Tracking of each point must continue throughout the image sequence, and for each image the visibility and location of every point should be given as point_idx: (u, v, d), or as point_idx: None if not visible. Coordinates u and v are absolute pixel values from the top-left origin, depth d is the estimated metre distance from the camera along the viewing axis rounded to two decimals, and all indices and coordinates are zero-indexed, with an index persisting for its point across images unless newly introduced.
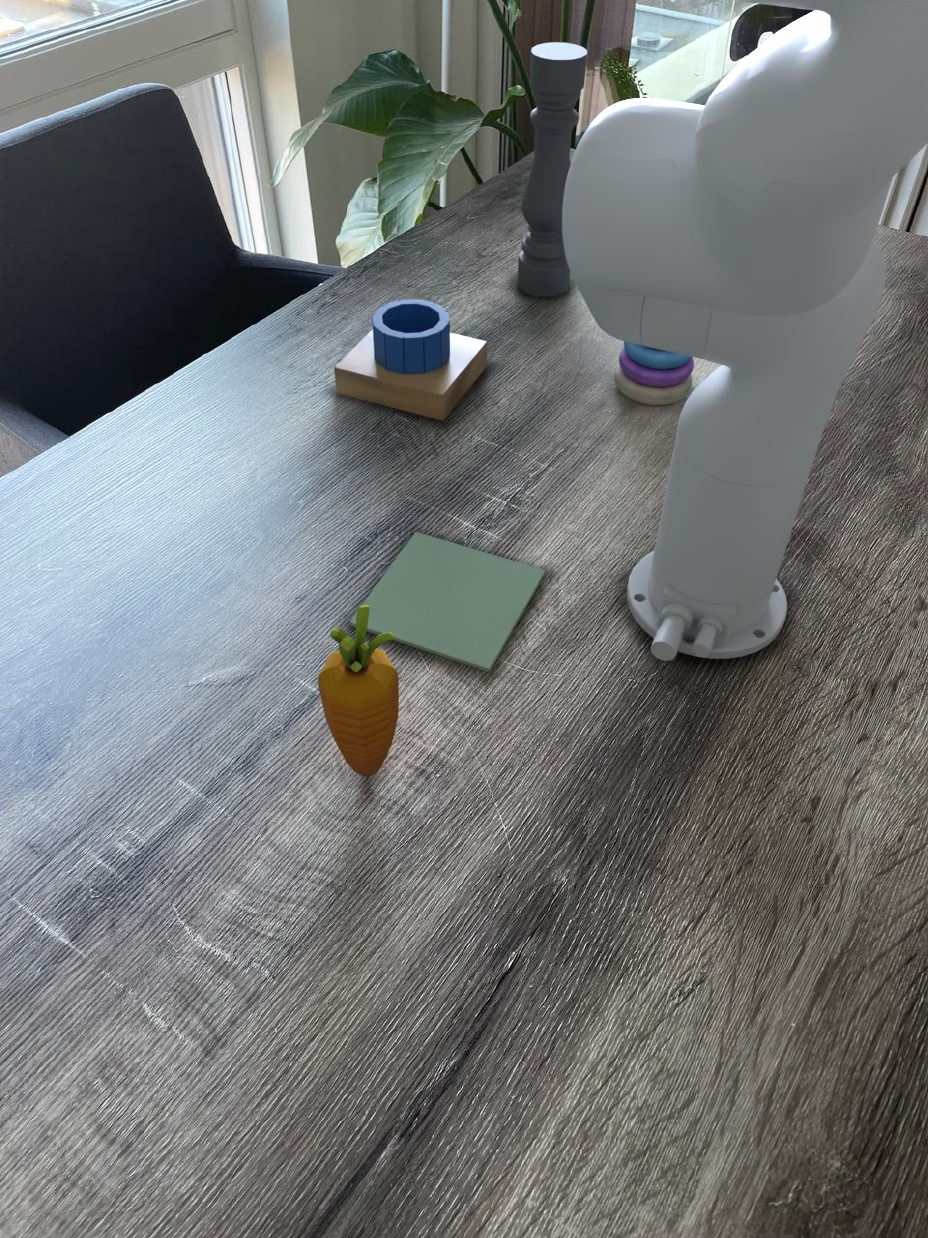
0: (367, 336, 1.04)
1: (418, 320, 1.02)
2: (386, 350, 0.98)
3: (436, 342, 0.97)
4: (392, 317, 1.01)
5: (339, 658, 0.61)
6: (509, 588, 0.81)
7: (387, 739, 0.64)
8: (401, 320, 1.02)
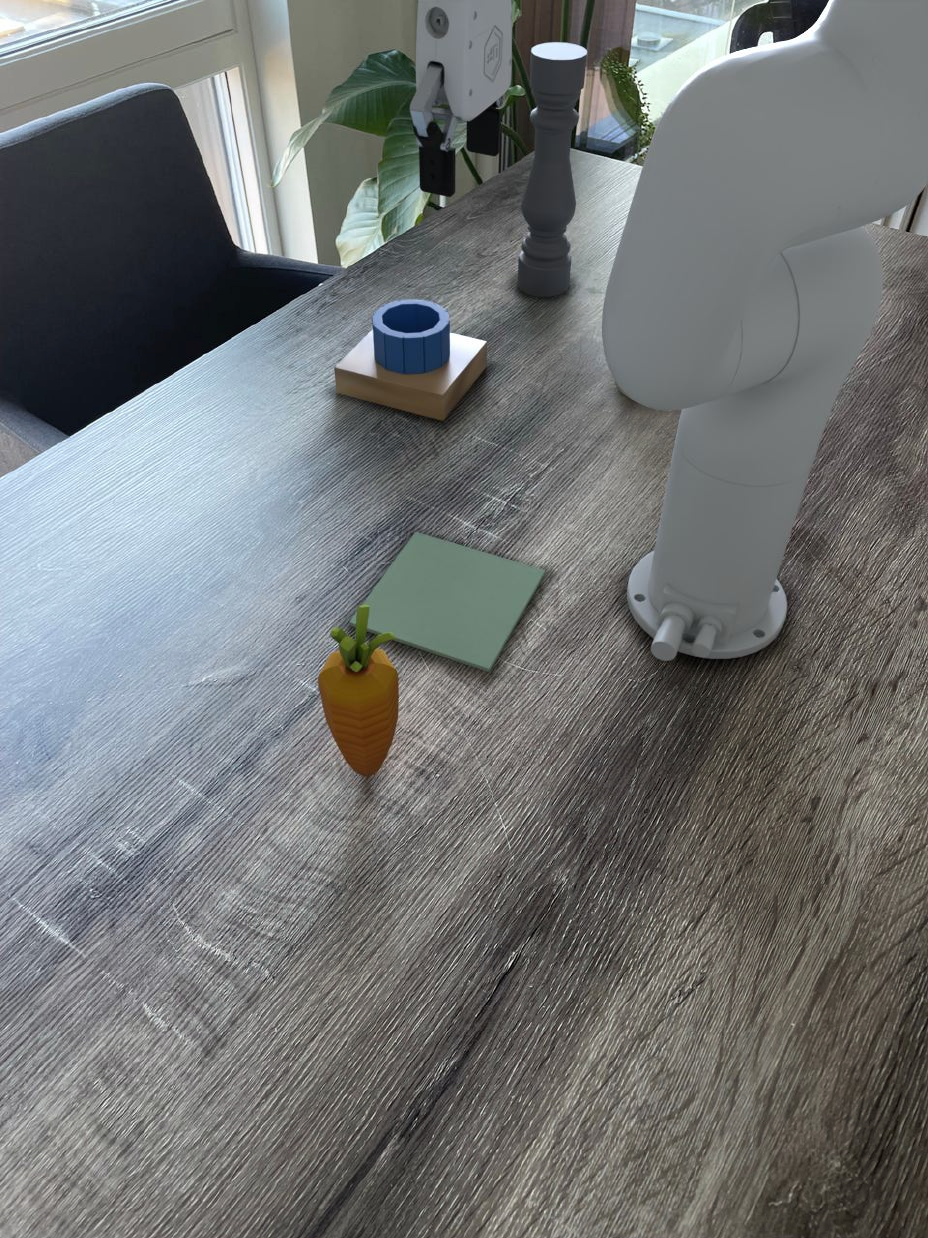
0: (367, 336, 1.04)
1: (418, 320, 1.02)
2: (386, 350, 0.98)
3: (436, 342, 0.97)
4: (392, 317, 1.01)
5: (339, 658, 0.61)
6: (509, 588, 0.81)
7: (387, 739, 0.64)
8: (401, 320, 1.02)
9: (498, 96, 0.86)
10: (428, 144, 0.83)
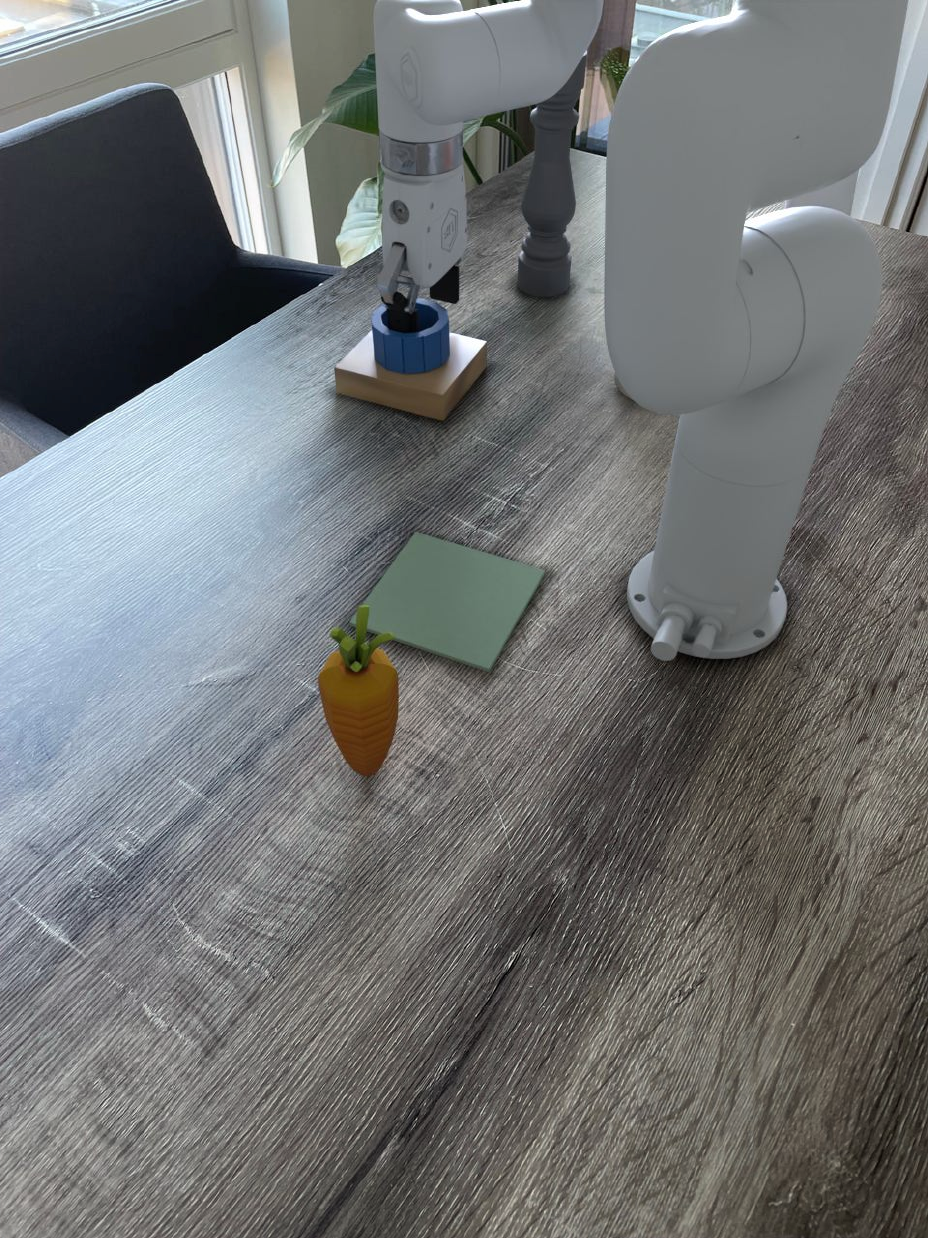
0: (367, 336, 1.04)
1: None
2: (385, 350, 0.98)
3: (435, 341, 0.97)
4: None
5: (339, 658, 0.61)
6: (509, 588, 0.81)
7: (387, 739, 0.64)
8: None
9: (455, 261, 0.98)
10: (394, 308, 0.95)
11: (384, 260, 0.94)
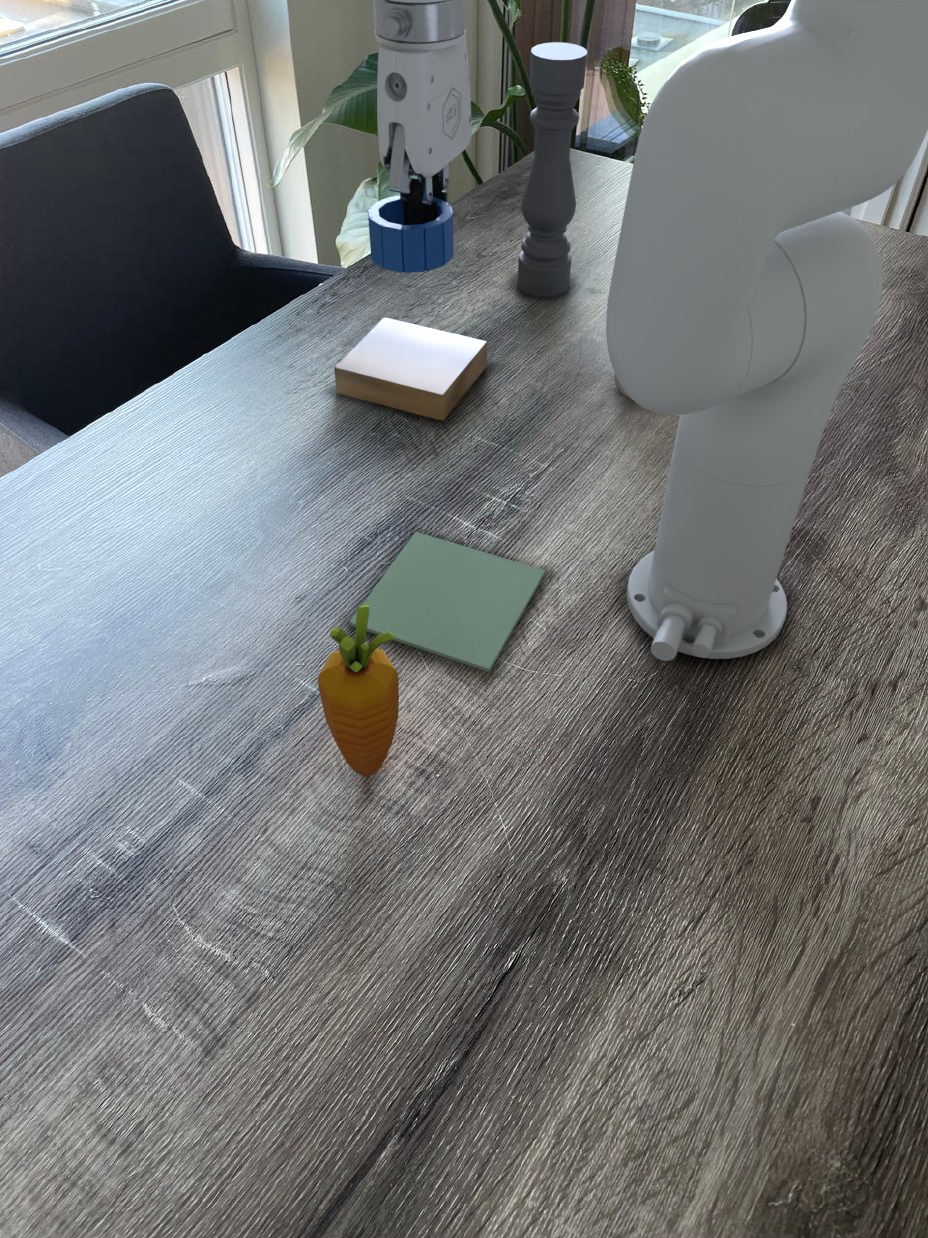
0: (367, 336, 1.04)
1: None
2: (383, 246, 0.89)
3: (438, 235, 0.89)
4: (390, 213, 0.92)
5: (339, 658, 0.61)
6: (509, 588, 0.81)
7: (387, 739, 0.64)
8: (400, 218, 0.93)
9: (459, 152, 0.89)
10: (411, 198, 0.90)
11: (380, 146, 0.85)
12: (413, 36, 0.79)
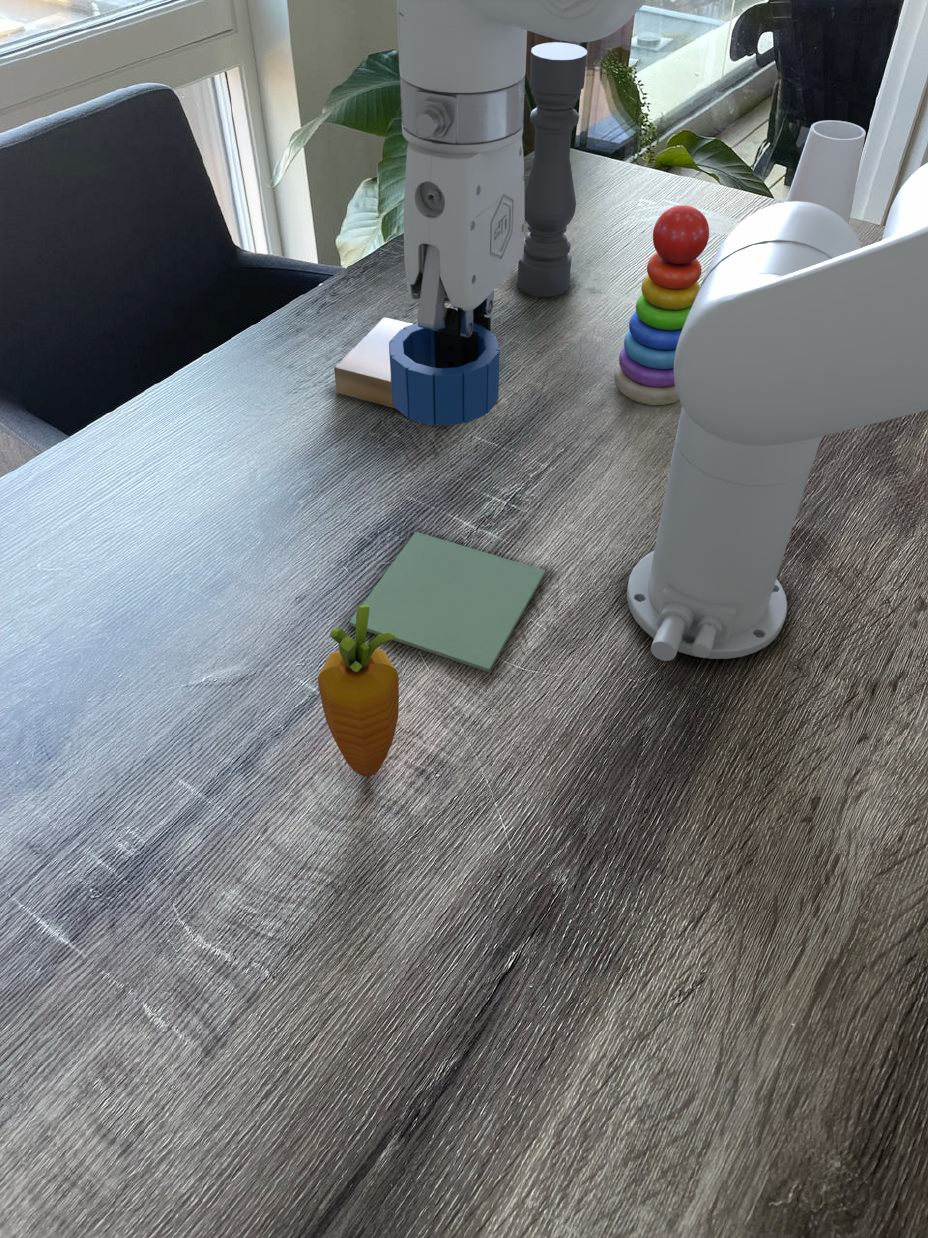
0: (367, 336, 1.04)
1: None
2: (408, 392, 0.69)
3: (481, 380, 0.68)
4: (418, 344, 0.72)
5: (339, 658, 0.61)
6: (509, 588, 0.81)
7: (387, 739, 0.64)
8: (430, 348, 0.72)
9: (508, 271, 0.69)
10: (446, 331, 0.69)
11: (407, 271, 0.64)
12: (454, 136, 0.58)
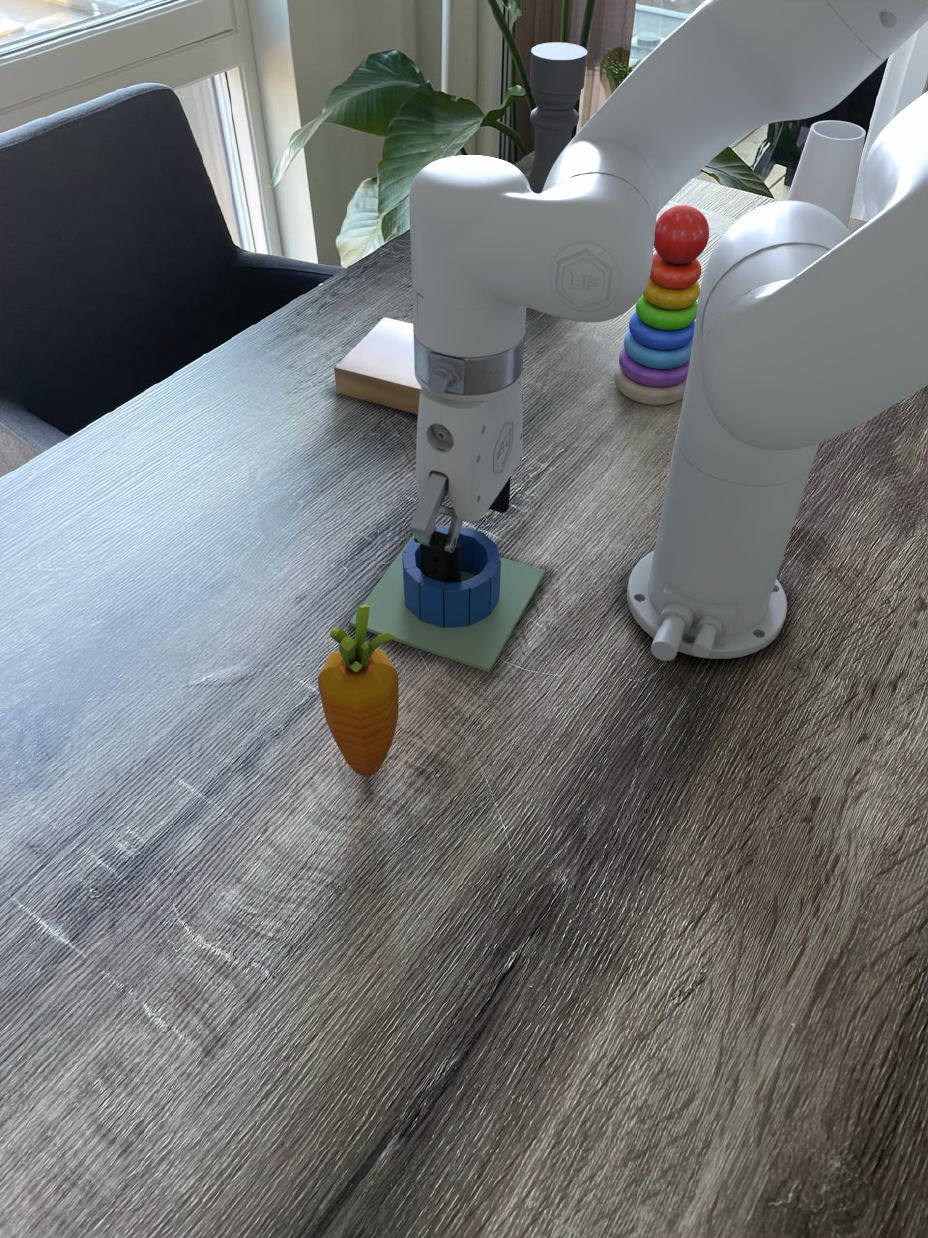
0: (367, 336, 1.04)
1: None
2: (420, 601, 0.77)
3: (485, 591, 0.77)
4: None
5: (339, 658, 0.61)
6: (509, 588, 0.81)
7: (387, 739, 0.64)
8: None
9: (508, 477, 0.76)
10: (431, 547, 0.73)
11: (418, 489, 0.72)
12: (463, 389, 0.66)
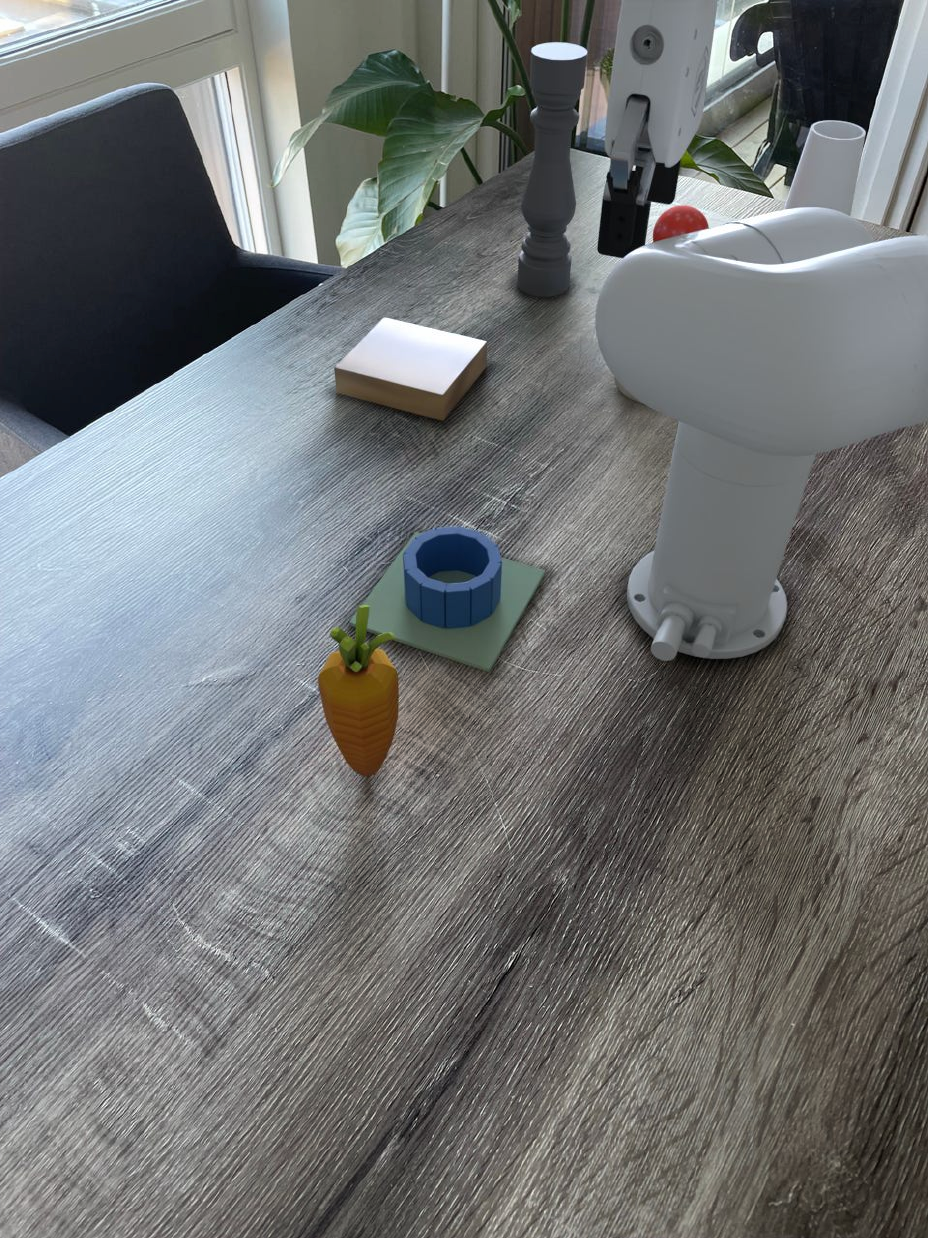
0: (367, 336, 1.04)
1: (459, 551, 0.81)
2: (421, 602, 0.77)
3: (486, 592, 0.77)
4: (428, 550, 0.80)
5: (339, 658, 0.61)
6: (509, 588, 0.81)
7: (387, 739, 0.64)
8: (438, 552, 0.81)
9: (694, 133, 0.68)
10: (621, 198, 0.65)
11: (610, 126, 0.64)
12: None
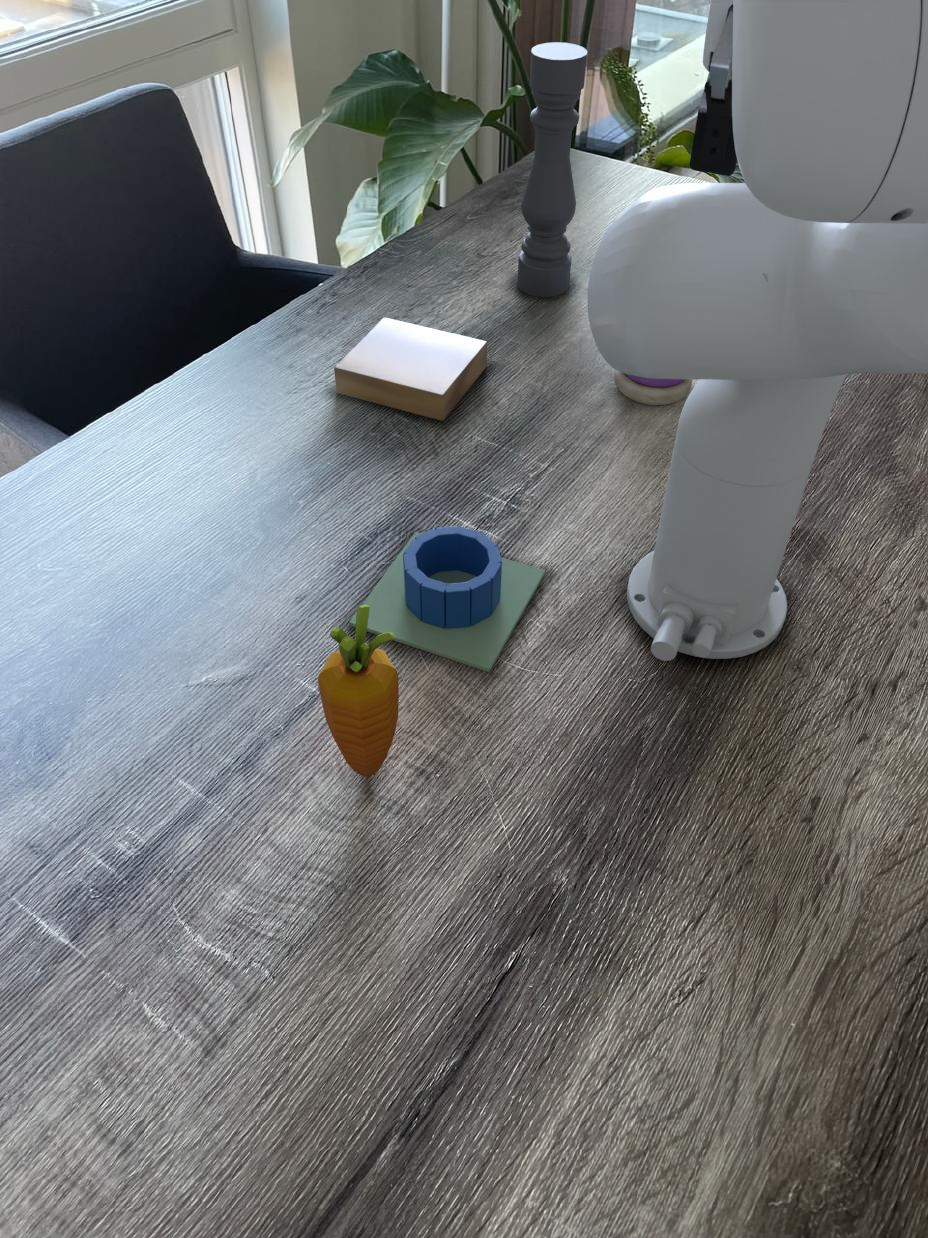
0: (367, 336, 1.04)
1: (459, 551, 0.81)
2: (421, 602, 0.77)
3: (486, 592, 0.77)
4: (428, 550, 0.80)
5: (339, 658, 0.61)
6: (509, 588, 0.81)
7: (387, 739, 0.64)
8: (438, 552, 0.81)
9: None
10: (717, 109, 0.67)
11: (709, 37, 0.66)
12: None
